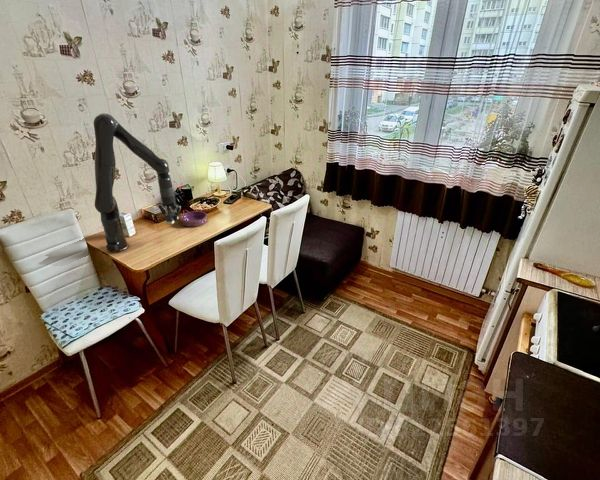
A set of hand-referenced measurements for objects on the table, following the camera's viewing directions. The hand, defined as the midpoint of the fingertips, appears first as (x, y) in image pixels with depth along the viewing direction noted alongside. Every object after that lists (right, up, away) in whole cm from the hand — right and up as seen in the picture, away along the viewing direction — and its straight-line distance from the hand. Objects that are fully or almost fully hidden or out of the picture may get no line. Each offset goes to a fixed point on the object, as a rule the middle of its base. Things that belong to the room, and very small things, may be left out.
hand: (172, 220), depth 185 cm
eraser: (0, 0, 0) cm, 0 cm away
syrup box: (-33, -8, +11) cm, 36 cm away
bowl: (+3, +1, +29) cm, 30 cm away
